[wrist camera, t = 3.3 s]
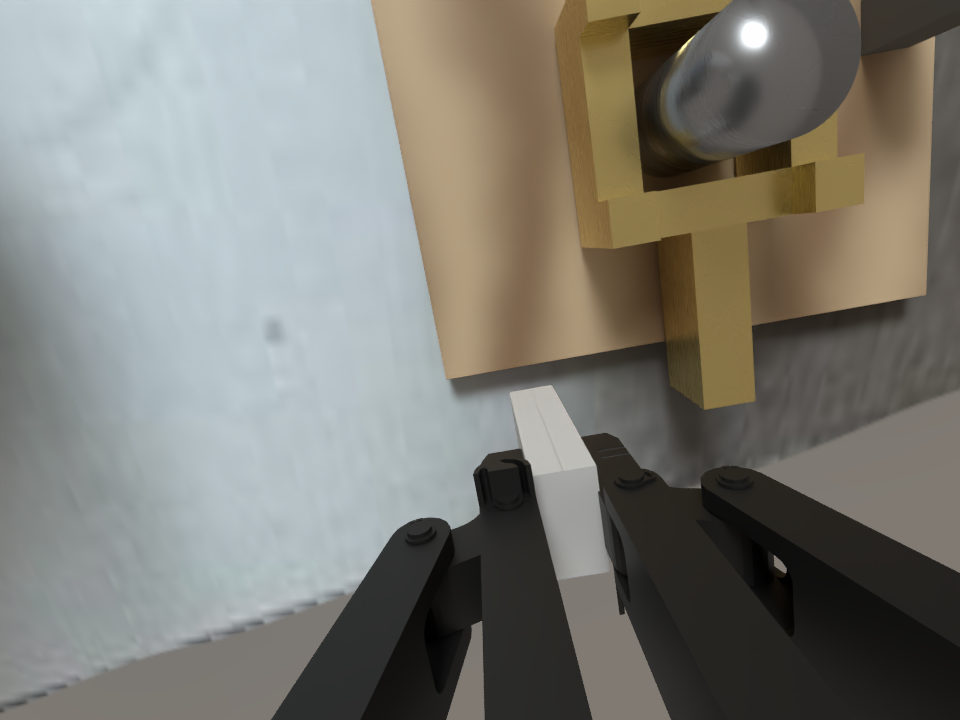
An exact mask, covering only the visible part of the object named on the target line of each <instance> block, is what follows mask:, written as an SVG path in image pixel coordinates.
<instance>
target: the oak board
mask: <svg viewBox="0 0 960 720" xmlns="http://www.w3.org/2000/svg"><path fill="white" fill-rule="evenodd" d="M565 1H566V0H371V3H372V8H373V13H374V18H375V23H376V28H377V33H378V38H379V43H380V48H381V53H382V58H383V63H384V68H385V73H386V78H387V83H388V88H389V94H390V99H391V104H392V109H393V114H394V119H395V124H396V129H397V134H398V139H399V144H400V149H401V154H402V159H403V164H404V169H405V174H406V179H407V184H408V189H409V194H410V199H411V204H412V209H413V214H414V219H415V224H416V229H417V234H418V239H419V244H420V249H421V254H422V259H423V264H424V269H425V274H426V279H427V284H428V289H429V294H430V300H431V305H432V310H433V315H434V320H435V325H436V330H437V335H438V340H439V345H440V350H441V355H442V360H443V365H444V370H445V375H446V380H447V379H452V378H458V377H464V376H469V375H475V374H481V373H486V372H492V371H498V370H503V369H509V368H515V367H520V366H526V365H532V364H537V363H543V362H549V361H554V360H560V359H566V358H571V357H577V356H583V355H588V354H594V353H600V352H605V351H611V350H617V349H622V348H628V347H634V346H639V345H645V344H651V343H656V342H662V341H666V337H665V326H664V315H663V304H662V293H661V282H660V270H659V259H658V248H657V241H654V242H649V243H643V244H638V245H632V246H626V247H621V248H615V249H606V248H583V247H581V241H580V233H579V225H578V217H577V209H576V201H575V193H574V185H573V177H572V169H571V161H570V153H569V145H568V137H567V129H566V121H565V113H564V105H563V97H562V89H561V81H560V73H559V65H558V57H557V49H556V41H555V33H554V28H555V26H556V23H557V21H558V18H559V16H560V13H561V11H562V9H563V6H564V4H565ZM849 1H850V2H851V4H852V6H853V8H854V11H855V13H856V16H857V19H858V22H859V27H860V33H861V0H849ZM934 49H935V36H934V37H932V38H930V39H927V40H925V41H923V42H921V43H918V44H916V45H914V46H912V47H908V48H903V49H897V50H892V51H887V52H881V53H876V54H870V55H865V56H860V62H859V67H858V71H857V74H856V77H855V80H854V82H853V85H852V87H851V89H850V91H849V93H848V94H847V96H846V98H845V100H844V101H843V102H842V104H841V105H840V107H839V108H838V109H837V152H838V158H839V157H844V156H850V155H855V154H861V153H864V204H860V205H854V206H849V207H843V208H838V209H832V210H827V211H821V212H815V213H803V214H792V215H787V216H781V217H776V218H770V219H765V220H759V221H753V222H748V223H747V238H748V259H749V279H750V300H751V321H752V326H753V325H758V324H764V323H770V322H775V321H781V320H787V319H792V318H798V317H804V316H809V315H815V314H821V313H826V312H832V311H838V310H843V309H849V308H855V307H860V306H866V305H872V304H877V303H883V302H888V301H894V300H900V299H905V298H911V297H917V296H922V295H926V282H927V253H928V223H929V194H930V165H931V136H932V107H933V78H934ZM673 54H674V53H671V54H665V55H660V56H655V57H649V58H644V59H639V60H633V61H631V64H632V74H633V85H634V90H635V89H636V88H637V87H638V86H639V85H640V84H641V83H642V82H644V81H645V80H646V79H647V78H648V77H649V76H650V75H651V74H652V73H653V72H654V71H656V70H657V69H658V68H659V67H660V66H661V65H662V64H663V63H664V62H665V61H667V60H668V59H669V58H670V57H671V56H672V55H673ZM735 177H737V169H736V157H734V158H731V159H728V160H725V161H722V162H718V163H715V164H712V165H709V166H706V167H703V168H700V169H696V170H693V171H690V172H687V173H684V174H681V175H678V176H674V177H667V178H659V177H653V176H650V175H647V174H645V173H643V172H642V181H643V191H644V193H646V192H651V191H657V192H658V191H663V190H669V189H674V188H680V187H685V186H691V185H696V184H702V183H708V182H713V181H719V180H724V179H730V178H735Z"/></svg>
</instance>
